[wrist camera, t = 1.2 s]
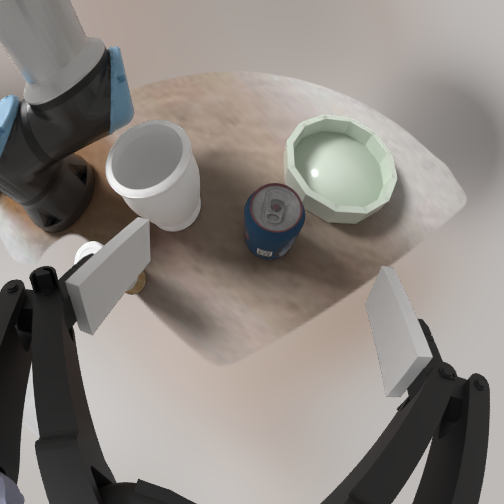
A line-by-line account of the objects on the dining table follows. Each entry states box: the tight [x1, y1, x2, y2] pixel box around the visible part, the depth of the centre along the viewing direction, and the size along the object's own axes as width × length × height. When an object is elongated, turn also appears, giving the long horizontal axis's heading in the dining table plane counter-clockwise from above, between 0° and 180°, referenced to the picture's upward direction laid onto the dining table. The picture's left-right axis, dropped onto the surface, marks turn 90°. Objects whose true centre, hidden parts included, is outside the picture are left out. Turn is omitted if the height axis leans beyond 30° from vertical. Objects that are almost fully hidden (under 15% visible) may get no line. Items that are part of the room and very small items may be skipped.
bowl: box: [284, 114, 397, 224], centre depth 43 cm, size 18×18×4 cm
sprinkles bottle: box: [74, 241, 146, 295], centre depth 34 cm, size 5×5×14 cm
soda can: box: [244, 183, 305, 260], centre depth 36 cm, size 7×7×12 cm
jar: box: [105, 120, 201, 231], centre depth 36 cm, size 11×10×15 cm
